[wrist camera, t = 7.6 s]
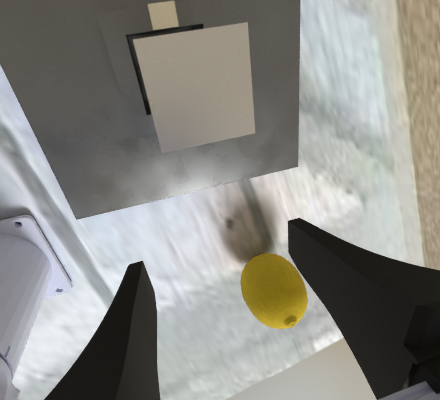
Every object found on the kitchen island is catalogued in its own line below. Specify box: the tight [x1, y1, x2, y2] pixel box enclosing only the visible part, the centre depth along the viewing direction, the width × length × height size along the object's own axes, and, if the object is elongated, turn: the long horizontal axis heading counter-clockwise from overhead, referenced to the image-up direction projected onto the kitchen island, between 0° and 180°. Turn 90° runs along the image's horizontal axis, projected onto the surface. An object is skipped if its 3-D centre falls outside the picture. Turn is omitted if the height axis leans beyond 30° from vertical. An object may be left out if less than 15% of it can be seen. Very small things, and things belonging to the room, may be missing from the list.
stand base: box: [0, 0, 300, 220], centre depth 16 cm, size 18×18×5 cm
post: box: [133, 22, 255, 153], centre depth 11 cm, size 3×3×8 cm
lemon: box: [241, 253, 308, 329], centre depth 25 cm, size 6×6×8 cm
